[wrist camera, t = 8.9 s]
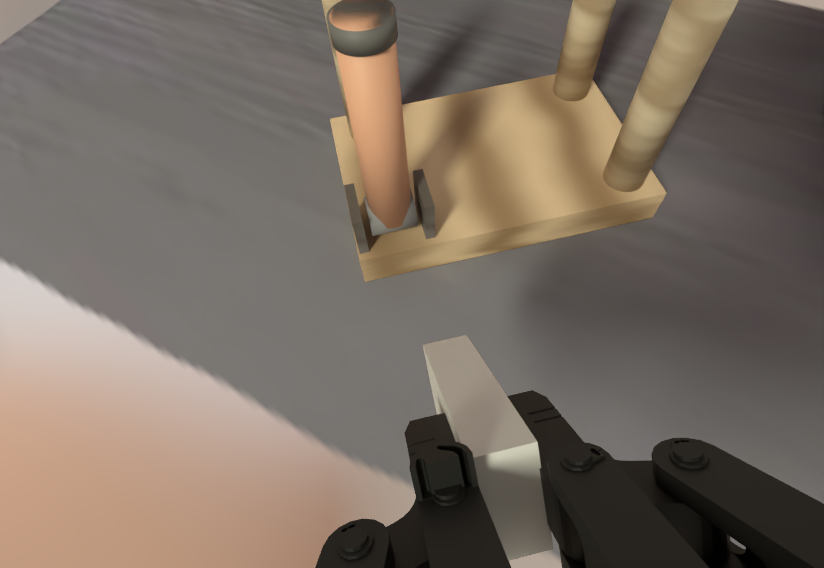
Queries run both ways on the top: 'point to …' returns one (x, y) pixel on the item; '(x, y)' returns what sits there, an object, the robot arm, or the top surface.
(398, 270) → the stool
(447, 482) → the robot arm
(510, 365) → the top surface
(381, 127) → the folding leg
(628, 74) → the top surface
